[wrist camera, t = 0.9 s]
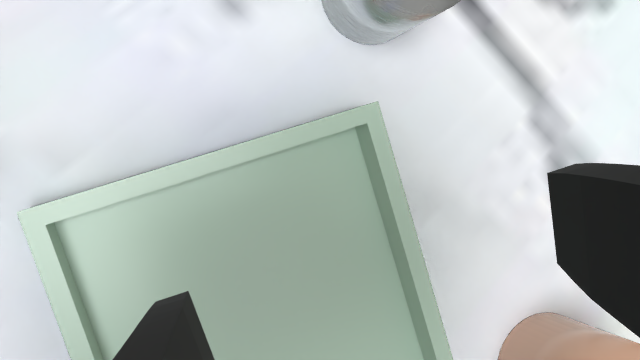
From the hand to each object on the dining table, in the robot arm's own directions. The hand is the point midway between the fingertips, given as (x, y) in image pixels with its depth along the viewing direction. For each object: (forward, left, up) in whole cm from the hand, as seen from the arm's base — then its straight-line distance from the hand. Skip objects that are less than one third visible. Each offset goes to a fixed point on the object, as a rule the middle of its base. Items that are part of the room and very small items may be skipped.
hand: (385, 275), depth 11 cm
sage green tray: (-6, +1, -17) cm, 17 cm away
